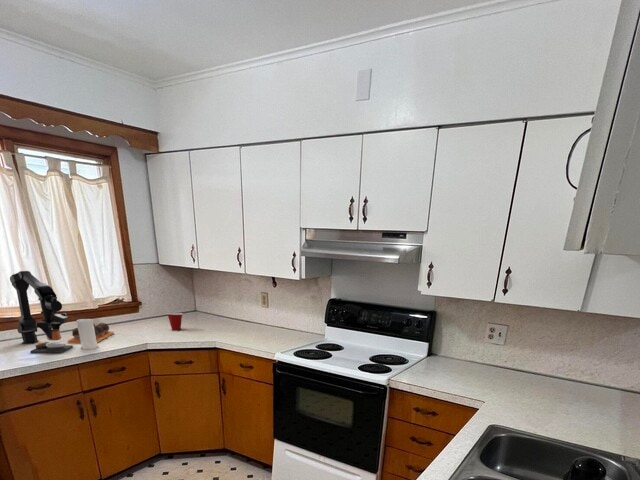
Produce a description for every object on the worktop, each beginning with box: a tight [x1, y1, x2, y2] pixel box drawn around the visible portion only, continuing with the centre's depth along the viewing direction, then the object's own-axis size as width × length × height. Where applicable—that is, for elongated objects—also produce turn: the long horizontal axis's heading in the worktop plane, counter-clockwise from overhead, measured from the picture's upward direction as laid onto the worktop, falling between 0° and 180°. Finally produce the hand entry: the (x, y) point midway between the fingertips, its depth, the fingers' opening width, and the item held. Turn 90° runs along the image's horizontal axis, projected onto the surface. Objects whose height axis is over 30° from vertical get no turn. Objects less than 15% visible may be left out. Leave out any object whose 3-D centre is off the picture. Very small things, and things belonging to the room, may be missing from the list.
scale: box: [29, 344, 74, 355], centre depth 241 cm, size 16×14×3 cm
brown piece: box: [67, 322, 115, 344], centre depth 270 cm, size 28×17×8 cm, turn 4°
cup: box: [76, 318, 98, 350], centre depth 247 cm, size 8×8×16 cm
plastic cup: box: [166, 311, 184, 332], centre depth 300 cm, size 11×11×12 cm
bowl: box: [45, 329, 62, 341], centre depth 238 cm, size 7×7×5 cm
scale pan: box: [43, 341, 66, 347], centre depth 241 cm, size 14×11×1 cm
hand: (54, 337), depth 239 cm, fingers closed on bowl, 7 cm apart
